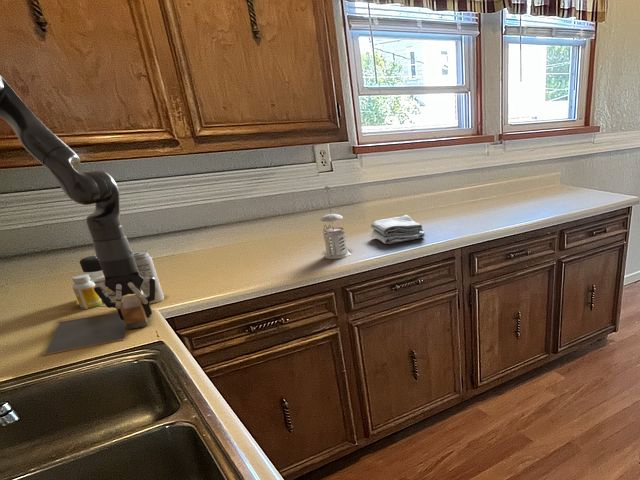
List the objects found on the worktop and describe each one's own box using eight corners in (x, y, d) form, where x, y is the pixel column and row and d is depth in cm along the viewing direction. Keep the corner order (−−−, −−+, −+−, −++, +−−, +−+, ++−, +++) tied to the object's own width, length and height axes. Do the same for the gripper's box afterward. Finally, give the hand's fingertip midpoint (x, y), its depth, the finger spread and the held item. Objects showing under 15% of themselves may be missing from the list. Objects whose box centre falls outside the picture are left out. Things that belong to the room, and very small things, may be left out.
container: (96, 305, 152) (79, 262, 146) (89, 300, 157) (72, 258, 151) (125, 298, 157) (110, 256, 151) (117, 293, 162) (103, 252, 156)
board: (45, 358, 121) (43, 355, 121) (61, 324, 140) (59, 321, 140) (124, 343, 128) (123, 339, 127) (129, 312, 147) (128, 309, 146)
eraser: (127, 329, 133) (120, 309, 130) (129, 315, 141) (122, 296, 139) (147, 325, 135) (140, 306, 132) (148, 312, 143) (142, 293, 141)
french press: (354, 251, 198) (345, 183, 187) (342, 260, 188) (331, 189, 177) (330, 251, 200) (320, 183, 188) (317, 259, 190) (305, 189, 178)
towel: (371, 238, 216) (368, 219, 213) (410, 232, 225) (409, 213, 221) (385, 246, 205) (383, 226, 201) (426, 238, 213) (425, 219, 210)
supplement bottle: (77, 311, 148) (64, 279, 144) (88, 304, 153) (75, 273, 148) (97, 310, 149) (84, 278, 144) (107, 303, 153) (95, 272, 149)
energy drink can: (168, 298, 156) (152, 249, 149) (160, 305, 151) (144, 255, 144) (147, 300, 155) (130, 251, 149) (138, 307, 150) (120, 256, 143)
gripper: (148, 248, 136) (167, 308, 144) (83, 256, 130) (107, 319, 138) (147, 254, 130) (167, 317, 138) (79, 263, 124) (104, 329, 132)
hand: (137, 318), depth 138 cm, fingers closed on eraser, 4 cm apart
